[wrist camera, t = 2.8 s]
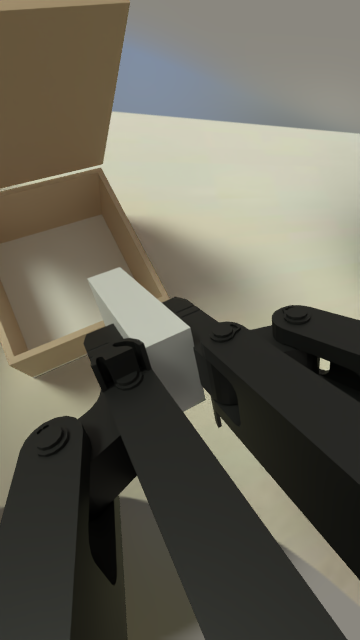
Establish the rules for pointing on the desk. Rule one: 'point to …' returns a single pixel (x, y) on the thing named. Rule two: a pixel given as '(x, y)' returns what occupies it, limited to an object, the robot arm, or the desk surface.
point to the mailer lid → (57, 84)
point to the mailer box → (61, 266)
